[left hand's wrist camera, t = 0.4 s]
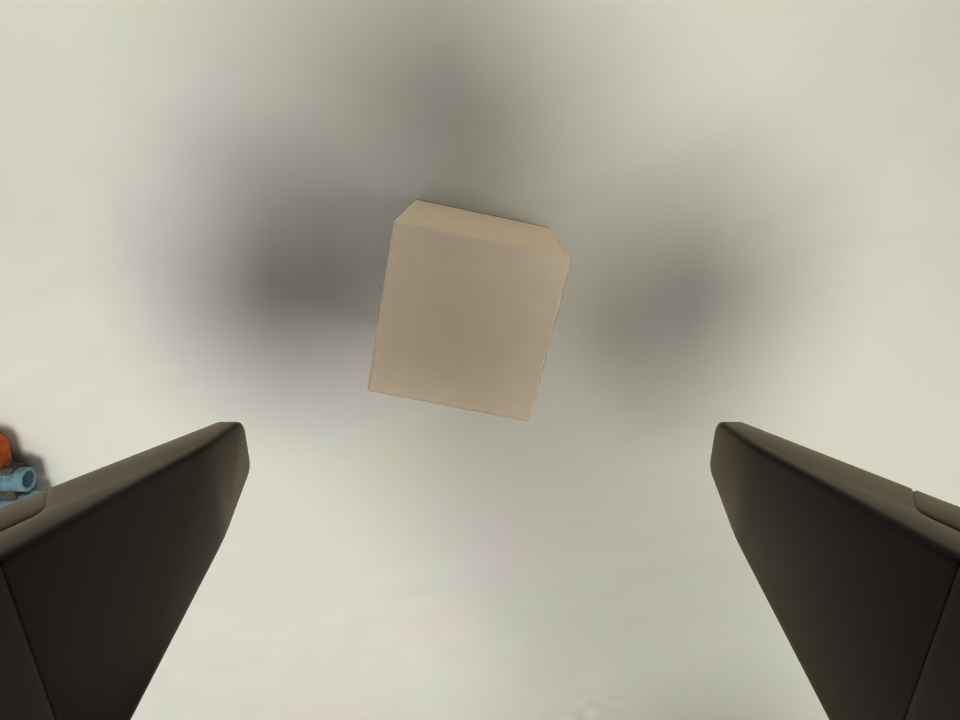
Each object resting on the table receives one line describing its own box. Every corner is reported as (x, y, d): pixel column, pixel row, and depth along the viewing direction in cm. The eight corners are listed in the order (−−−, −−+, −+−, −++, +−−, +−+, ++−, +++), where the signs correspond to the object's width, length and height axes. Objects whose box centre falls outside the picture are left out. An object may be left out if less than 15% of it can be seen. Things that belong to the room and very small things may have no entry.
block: (550, 227, 19) (573, 257, 15) (518, 358, 21) (528, 422, 16) (414, 198, 19) (393, 219, 14) (392, 334, 21) (366, 392, 16)
